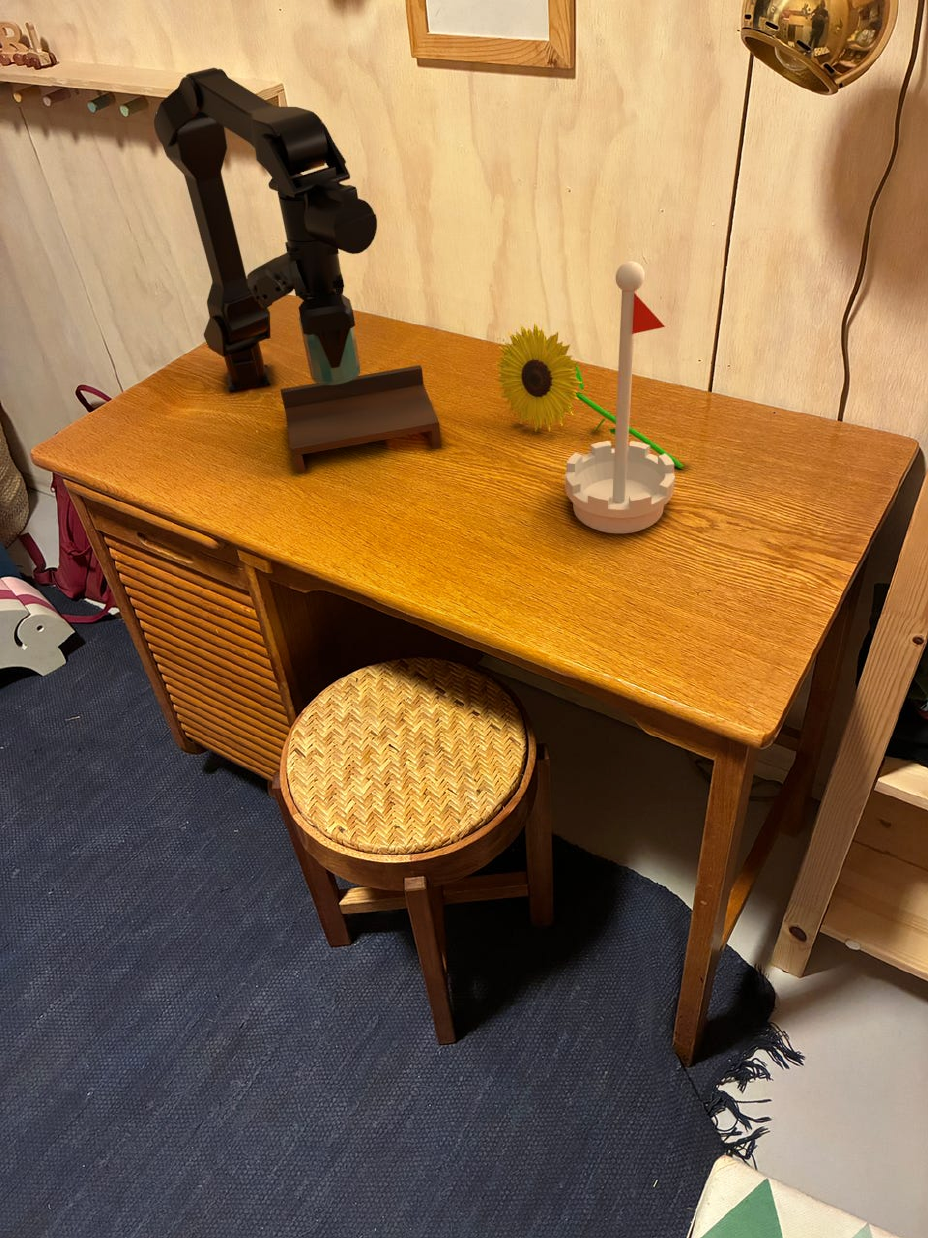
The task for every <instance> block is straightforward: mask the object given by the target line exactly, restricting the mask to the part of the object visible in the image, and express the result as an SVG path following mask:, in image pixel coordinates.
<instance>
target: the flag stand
mask: <svg viewBox="0 0 928 1238" xmlns="http://www.w3.org/2000/svg"><path fill="white" fill-rule="evenodd" d="M645 274H646V273H645V270H644V268H643V267H642V265H641V264H640V263H638V262H636V261H627V262H624V263H622V264H621V265H620V266H619V267H618V269H617V270H616V273H615V282H616V285H617V287H618V288H619V289H620V290H621V298H620V299H621V301H620V302H621V303H620V322H619V323H620V325H619V347H618V367H617V368H618V369H617V390H616V411H615V412H616V413H615V417H616V424H615V428H616V431H615V435H614V448H612V443H611V440H606V441H599V442H596V443H592V444H590V452H588V453H586V454H584V455H583V454H580V453H578V452H574V453H573V454H572V455H571V456H570V457H569V458H568V460H567V462H566V463H565V464H566V467H565V468H566V470H565V475H564V491H565V494H566V495H567V497H568V499H569V500H570V501H571V502H572V505H573V506H572V507H573V512H574V515H575V517H576V518H577V519H578V521H580V522H581V523H582V524H584V525H585V526H587V527H589V528H591V529H594V530H596V531H600V532H602V533H603V532H604V533H609V534H630V533H636V532H639V531H642V530H646V529H648V528H649V527H652V526H653V525H654V524H656V523H657V522H658V521H659V520H660V519H661V518H662V516H663V513H664V508H665V506H666V505H667V504H668V503H669V501H670V500H671V499H672V497H673V495H674V492H675V485H676V476H675V473H674V472H675V465H674V463H673V461H672V459H671V458H670V457H669V456H668V455H667V454H666V453H665V454H662V455H660V454H659V455H658V456H657V455H656V454H655V455H654V454H652V453H650V452H651V448H650V445H648V444H645V443H644V442H642V441H641V442H640V441H635V440H630V442H629V435H630V433H629V426H630V420H631V419H630V417H631V399H632V382H633V381H632V380H633V365H634V347H635V334H639V333H643V332H649V331H653V330H658V329H662V328H665V327H666V326H665V324H663V322H661V320H660V319H659V318H658V317H657V316H656V315H655V313H654V312H653V311H652V310H651V309H650V308H649V307H648V306H647V305H646V304H645V303H644V301H643V300H642V299H641V298H640V297H639V296H638V295H637V293H638V290H639V289H640V288H641V287H642V286H643V284H644V281H645V277H646V276H645Z"/></svg>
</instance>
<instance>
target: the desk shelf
mask: <svg viewBox="0 0 928 1238" xmlns="http://www.w3.org/2000/svg"><path fill="white" fill-rule="evenodd" d="M424 382H425V381H424V374H423V367H422V365H421V364H420V365H414V366H413V365H412V366H407V367H401V368H396V369H389V370H384V371H379V372H373V373H372V372H371V373H367V374H361V375H360V374H359V375H358V376H357V377H356V378H355V379H353V380H351V381H349V382H346V383H343V384H338V385H322V384H318V383H316V382H314V383H309V384H304V385H302V384H301V385H298V386H292V387H285V388H280V395H281V399H282V404H283V408H284V413H285V421H286V426H287V433H288V439H289V446H290V452H291V455H292V460H293V464H294V468H295V472H296V474H303V473H304V474H305V473H306V466H305V461H304V456H303V455H306V454H307V455H308V454H312V453H317V452H318V453H319V452H323V451H327V450H334V449H340V448H345V447H351V446H356V445H361V444H367V443H372V442H378V441H384V440H388V439H394V438H400V437H405V436H410V435H415V434H422V433H426V434H427V436H428V439H429V442H430V444H431V447H432V449H433V450H434V449H441V448H442V437H441V436H442V435H441V428H440V420H439V419H438V416H437V414H436V411H435V408H434V406H433V403H432V401H431V398H430V396H429V393H428V391H427V389H426V386H425V384H424Z"/></svg>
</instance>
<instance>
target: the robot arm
mask: <svg viewBox="0 0 928 1238" xmlns="http://www.w3.org/2000/svg"><path fill="white" fill-rule="evenodd" d="M153 128H154V131H155V134H156V136H157V139H158V141H159V142H160V144H161V145H162V147H163V151H164V153H165V156H166V157H167V158H168V160H169V161H171V163H172V164H173V165H174V166H175V168H177V169H178V170H179V171H180V173H181V174H182V175H183V176H184V179H185V183H186V187H187V191H188V195H189V198H190V203H191V205H192V210H193V213H194V217H195V221H196V224H197V228H198V229H197V230H198V232H199V235H200V239H201V243H202V247H203V251H204V254H205V258H206V263H207V264H208V265H207V266H208V270H209V273H210V277H211V281H212V282H211V286H210V289H209V292H208V296H207V299H206V306H207V312H208V316H209V318H208V320H207V324H206V326H205V329H204V332H203V338H204V339H205V342H206V346H207V347H208V349H209V350H211V351H212V352H214V353H216V354H217V355H219V356H221V357H222V358H224V362H225V365H226V369H227V372H226V378H227V389H228V392H230V393H233V392H234V393H235V392H238V391H239V392H240V391H245V390H250V389H251V390H252V389H256V388H263V387H268V386H270V385H271V383H272V382H271V376H270V368H269V365H268V364H265V361H264V357H263V353H262V348H261V344H260V342H262V341H265V340H268V339H271V336H272V335H271V312H270V310H269V307H271V306H273V303H276V302H277V301H279V300H280V299H282V298H283V297H286V296H287V295H289V294H291V293H292V292H293V291H294V294H295V297H298V298H300V300H302V302H301V303H300V305H299V306H298V313H299V317H300V319H301V324H302V329H303V334H306V335H312V334H314V335H316V336H317V337H318V338H319V341H320V343H321V345H322V347H323V350H324V352H325V354H326V357H327V359H328V361H329V364H330V366H331V368H337V367H340V364H341V360H342V356H343V352H344V349H345V345H346V341H347V338H348V334H349V331H350V328H352V327H354V328H355V326H356V321H355V314H354V310H353V306H352V303H351V300H350V298H348V297H347V296H346V295H344V291H345V290H344V289H345V282H344V278H343V274H342V269H341V262H340V258H339V254H340V252H339V250H340V251H343V252H345V253H347V254H351V255H357V254H361V253H363V252H364V251H366V250H367V249H368V248H369V247H370V246H371V245H372V243H373V241H374V240H375V237H376V234H377V229H378V218H377V215H376V213H375V211H374V209H373V208H372V206H371V205H370V204H369V203H368V202H367V201H366V200H364V199H361V198H359V196H358V195H359V194H358V189H357V186H354V185H351V184H342V182H345V181H348V180H350V179H351V175H350V172H349V169H348V168H347V166H346V163H347V161H346V158H344V155H343V154H342V152H341V151H340V150H339V147H338V146H337V145H336V143H335V141H334V140H333V138H332V136H331V134H330V132H329V129H328V127H327V126H326V125H325V123H324V122H323V120H322V119H321V118H320V117H319V115H318V114H316V113H315V111H312V110H309V109H305V108H302V107H298V106H279V105H274V104H272V103H271V102H269V101H268V100H266V99H264V98H263V97H261V96H260V95H258V94H256V93H255V92H253V91H251V90H249V89H248V88H247V87H244V86H243V85H241V84H240V83H238V82H236V81H235V80H233V79H231V78H229V76H228V75H227V73H226V72H225V71H224V70H223V69H222V68H217V67H211V68H206V69H202V70H197V71H194V72H189V73H187V74H186V75H185V76H183V77H182V78H181V80H180V82H179V84H178V87H177V88H176V89H174V90H173V91H172V92H171V93H170V94H169V95H168V96H166V97H165V98H164V99H163V100H162V101H161V102H160V103H159V105H158V108H157V110H156V113H155V115H154V118H153ZM226 129H227V130H229V131H230V132H232V133H233V134H235V135H236V136H238V137H239V138H241V139H243V140H244V141H245V142H246V143H249V144H250V145H251V146H252V147H253V149H254V151H255V152H254V153H255V158H256V162H257V163H259V164H260V165H261V166H262V167H263V168H264V170H266V172H267V173H268V174H269V176H270V180H269V182H268V188H269V189H270V190H272V191H275V192H277V197H278V201H279V207H280V211H281V216H282V222H283V227H284V232H285V237H286V241H285V242H284V244H285V249H286V252H285V253H283V254H281V255H279V256H277V257H274V258H272V259H270V260H269V261H267V262H265V263H263V264H261V265H260V266H258V267H255V268H254V269H253V270H251V271H250V272H249V273H248V274H246V270H245V266H244V261H243V257H242V253H241V249H240V245H239V241H238V236H237V233H236V229H235V224H234V220H233V216H232V212H231V208H230V204H229V200H228V196H227V190H226V186H225V183H224V179H223V174H222V173H223V172H222V170H223V166H224V163H225V159H226V156H227V152H228V148H229V147H228V141H227V134H226ZM325 165H326V166H327V167H324V166H325ZM321 167H324V168H321ZM317 168H321V169H318V170H315V169H317ZM311 170H315V171H312V172H308V171H311ZM305 172H308V173H305ZM303 173H305V174H303Z"/></svg>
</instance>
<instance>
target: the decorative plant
mask: <svg viewBox="0 0 928 1238" xmlns="http://www.w3.org/2000/svg"><path fill="white" fill-rule="evenodd" d="M520 330H521V331H520V332H521V334H520V333H519V332H518V331H517V330H515V334H516V335H515V334H513V333H511V332H510V331H508V334H509V337H510V342H511V343H507V342H506V341H503V342H504V345H505V346H506V347H501V346H498V348H499V350H500V351H501V352H502V354H503V355H498V357H499V358H500V359H501V361H498V362H494V363H495V364H496V365H497V366H498V367H500V368H501V369H499V370H496V372H497V373H498V374H500V376H499V377H498V378H496V379H495V381H496V382H499V383H502V385H501V386H500V387H499V389H501V390H503V394H502V395H501V396H499V397H500V398H501V399H504V398H505V399H506V398H507V399H506V401H505V402H504V403H505V404H508V403H510V409H509V410H508V413H511V412H513V411H514V412H515V413H514V414H513V416H514V417H516V416H517V415H519V417H520V422H519V425H522V424H524V422H525V421H526V420H527V421H526V422H527V426H529V425H530V424H531V422H533V426H534V430H535V432H537V430H538V427H540V428H542V426H543V424H544V423H545V425H546V427H547V429H548V432H551V427H554V426H555V424H554V422H555V420H556V421H557V422H558V424H559V425H561V427H563V419H564V420H566V416H565V412H566V413H568V414H570V415H572V416H574V413H573V410H572V408H574V405H573V404H572V401H571V400H573V401H578V402H580V401H581V402H582V403H584V404H585V405H587V406H588V407H590V408H591V409H592V410H593V411H595V412H597V413H598V414H600V415H601V416H603V417H604V418H603V419H602V420H601V421H600V422H599V423H598V425H597V427H596V429H595V430H594V433H595V432H597V431H598V430H599V428H601V426H602V424H603V423H604V422H605V420H606V419H607V420H608V421H610V422H612V423H613V424H615V425H616V416H614V414H612V413H609V412H608V411H607V410H606V409H604V408H602V407H601V406H600V405H598V404H597V403H595V402H594V401H593V400H591V399H589V398H588V397H586V396H585V394H584V392H583V391H584V380H583V376H582V374H581V371H580V369H579V367H578V365H577V364H579V360H574V359H572V357H573V354H571V355H567V353H568V351H569V349H570V346H571V344H567V345H563V343H564V341H560V342H558V340H559V331H557V332H555V334H552V335H550V336H549V337H548V338H547V336H546V334H545V333H544V327H541V329H539V327H538V325H537V323H536V322H534V325H533V329H532V330H531V329H530V327H529V326H528V328H527V329H526V328H525V327H524V326H523V324H520ZM573 368H575V369H574V370H573ZM574 386H578V388H579V389H580V391H582V393H581V392H579V391H578V390H577V389H575V387H574ZM607 431H609V432H610V434H612V435H614V436H615V431H616V427H614V428H607ZM629 435H631V436H633V437H634V438H636V439H638V440H639V441H641V443H644V444H648V445H650V449H652V450H653V451H655V452H656V453H658V454H659V456H660V455H662V454H665V453H666V454H667V455H668V456H669V457H670V458H671V459H672V461H673V463H674V467H676V468H678V469H680V470H683V468H684V465H683V463H681V462H680V461H679V460H678V459H676V458H675V457H674V456H673V455H671V454H670V453H669V452H667V451H666V450H664V449H663V448H661V447H660V446H658V445H657V444H656V443H655V442H654V441H652V440H651V439H649V438H647V437H646V436H645V435H643V434H642V433H640V432H639V431H637V430H636V429H634V428H633V427H631V426H630V425H629Z"/></svg>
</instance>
